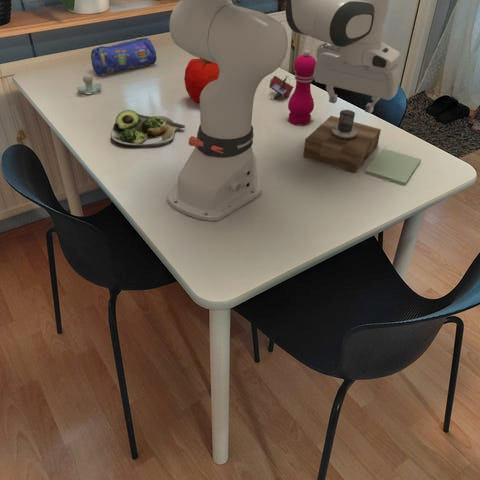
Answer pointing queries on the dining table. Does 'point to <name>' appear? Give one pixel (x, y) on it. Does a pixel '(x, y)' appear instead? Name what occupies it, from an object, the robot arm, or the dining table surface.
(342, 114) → the flanged metal shaft
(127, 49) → the pencil case
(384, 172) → the mat
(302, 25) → the robot arm
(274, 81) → the geometric puzzle
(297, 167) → the dining table surface
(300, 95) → the pepper mill
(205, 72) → the tomato
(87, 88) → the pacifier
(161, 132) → the salad plate
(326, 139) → the block
